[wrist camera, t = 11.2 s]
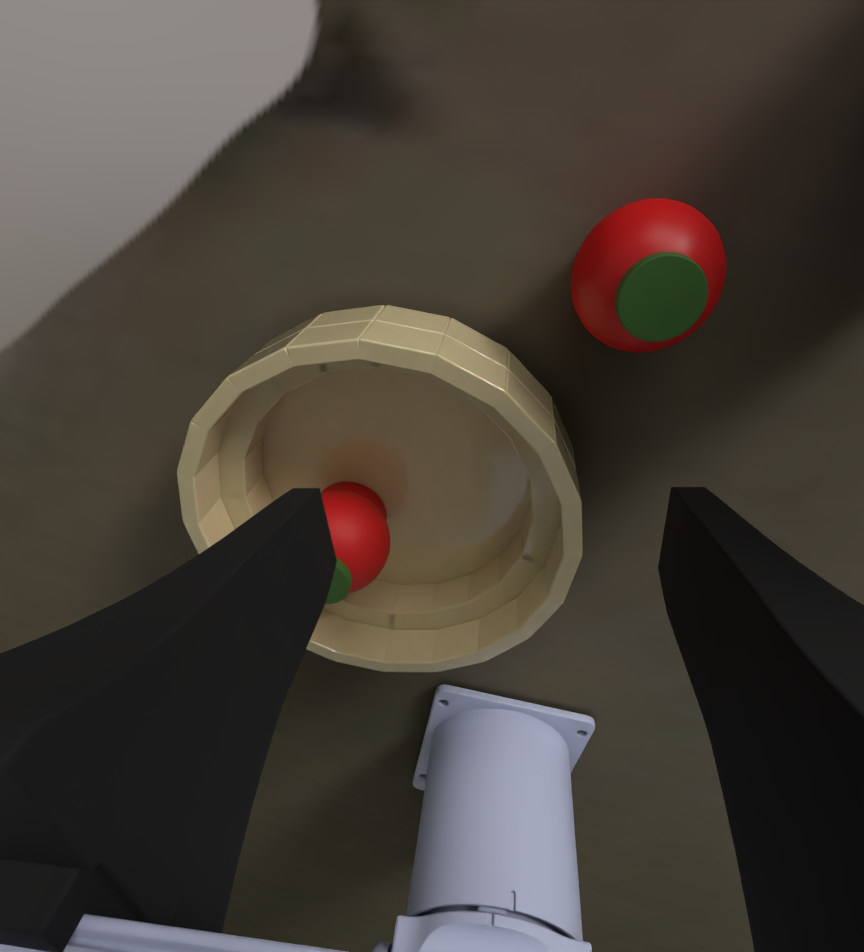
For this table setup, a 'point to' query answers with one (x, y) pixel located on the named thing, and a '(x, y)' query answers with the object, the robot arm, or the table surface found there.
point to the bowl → (402, 478)
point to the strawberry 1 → (355, 536)
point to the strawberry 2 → (648, 275)
